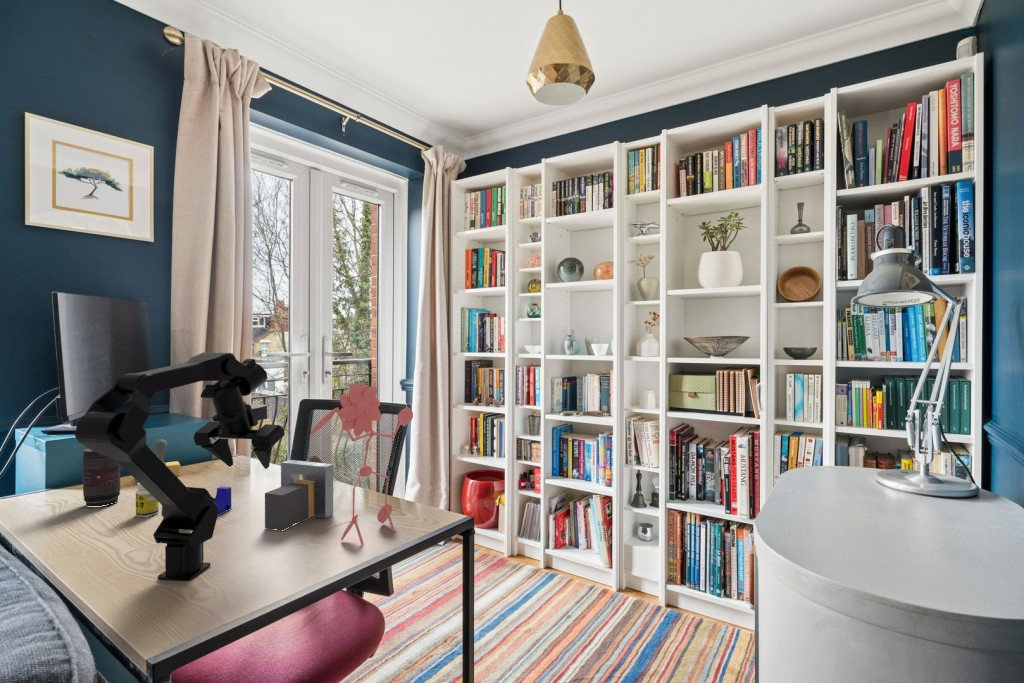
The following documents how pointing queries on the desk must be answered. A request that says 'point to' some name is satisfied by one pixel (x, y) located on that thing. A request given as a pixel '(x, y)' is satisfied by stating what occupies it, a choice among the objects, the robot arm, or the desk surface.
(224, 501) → the cable clip
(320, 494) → the frame
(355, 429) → the figurine
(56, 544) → the desk surface
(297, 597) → the desk surface
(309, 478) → the vase
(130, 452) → the robot arm
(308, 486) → the plug
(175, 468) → the rubber stamp
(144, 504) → the supplement bottle
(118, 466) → the camera lens
